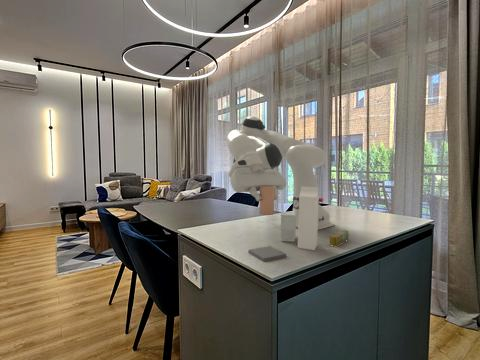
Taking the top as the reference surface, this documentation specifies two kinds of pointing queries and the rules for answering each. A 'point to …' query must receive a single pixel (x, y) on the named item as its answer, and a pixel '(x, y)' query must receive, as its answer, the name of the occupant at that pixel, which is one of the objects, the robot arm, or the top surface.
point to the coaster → (267, 253)
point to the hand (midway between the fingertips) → (268, 199)
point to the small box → (288, 226)
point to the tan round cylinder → (267, 200)
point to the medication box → (338, 237)
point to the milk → (308, 218)
